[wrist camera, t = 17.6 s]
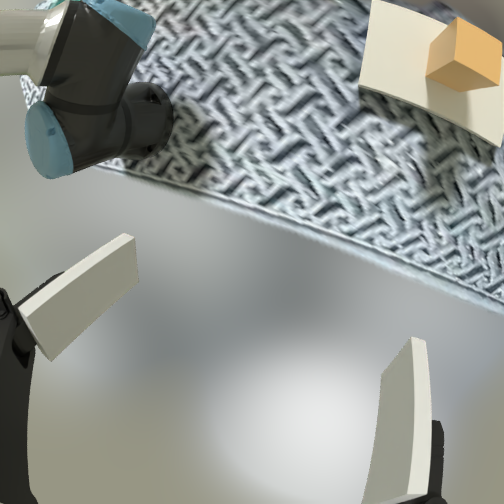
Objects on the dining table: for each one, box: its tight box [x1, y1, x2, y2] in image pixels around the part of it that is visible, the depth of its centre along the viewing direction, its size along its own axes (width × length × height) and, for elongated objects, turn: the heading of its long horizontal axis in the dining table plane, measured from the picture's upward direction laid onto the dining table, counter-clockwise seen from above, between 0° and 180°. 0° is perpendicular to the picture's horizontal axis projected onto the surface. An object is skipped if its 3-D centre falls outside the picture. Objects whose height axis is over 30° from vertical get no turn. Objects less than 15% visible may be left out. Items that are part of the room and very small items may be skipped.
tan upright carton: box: [425, 17, 502, 92], centre depth 17 cm, size 5×5×12 cm
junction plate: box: [358, 0, 504, 147], centre depth 21 cm, size 22×14×8 cm, turn 80°
